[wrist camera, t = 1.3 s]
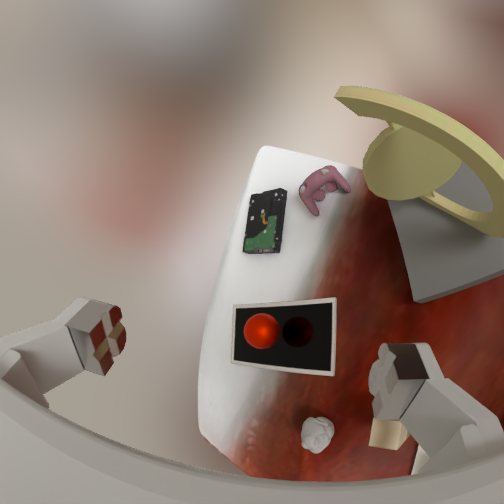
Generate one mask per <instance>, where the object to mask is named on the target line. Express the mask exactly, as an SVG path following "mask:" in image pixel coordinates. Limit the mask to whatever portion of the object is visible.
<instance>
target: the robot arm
mask: <svg viewBox="0 0 504 504" xmlns="http://www.w3.org/2000/svg"><path fill="white" fill-rule="evenodd" d="M121 318H122V313H121V309H120V308H119V307H118V306H116V305H112V304H108V303H104V302H101V301H97V300H92V299H89V298H86V297H79V298H78V299H77V300H76V301H74V302H73V303H72V304H71V305H70V306H69V307H68V308H67V309H66V310H65V311H64V312H63V313H61V314H60V315H59V316H58V317H57V318H56V319H55V320H54V321H47V322H44V323H41V324H38V325H35V326H32V327H29V328H26V329H24V330H21V331H18V332H15V333H13V334H9V335H6V336H4V337H1V338H0V504H504V432H503V429H502V427H501V424H500V422H499V420H498V417H497V416H496V415H494V414H493V413H492V412H491V411H489V410H488V409H487V408H486V407H484V406H483V405H482V404H481V403H479V402H478V401H477V400H476V399H474V398H473V397H472V396H470V395H469V394H468V393H467V392H465V391H464V390H463V389H461V388H460V387H459V386H458V385H456V384H455V383H454V382H452V381H451V380H450V379H449V378H446V379H445V378H444V376H443V374H442V372H441V369H440V367H439V365H438V363H437V361H436V358H435V356H434V354H433V352H432V350H431V348H430V346H429V345H428V344H427V343H383V344H382V345H381V346H380V349H379V351H378V355H379V359H378V360H377V361H376V362H374V363H373V365H372V368H371V370H370V374H369V390H370V393H371V394H372V395H373V396H375V398H374V400H373V402H372V407H373V412H374V418H375V420H394V419H400V420H399V421H400V422H401V423H402V424H403V426H404V427H405V428H406V429H407V430H408V432H409V433H410V434H411V435H412V437H413V438H414V439H415V440H416V441H417V443H418V444H419V445H420V446H421V448H422V449H423V450H424V451H425V453H426V454H427V455H428V456H429V457H430V460H429V461H428V462H427V463H426V464H425V465H424V466H423V467H421V469H420V470H419V471H418V474H414V475H408V476H402V477H394V478H386V479H376V480H364V481H346V482H306V481H287V480H275V479H265V478H257V477H249V476H242V475H235V474H229V473H224V472H219V471H214V470H209V469H204V468H200V467H196V466H191V465H187V464H183V463H179V462H176V461H172V460H169V459H165V458H162V457H159V456H156V455H152V454H149V453H146V452H143V451H140V450H138V449H135V448H132V447H129V446H127V445H124V444H121V443H119V442H116V441H114V440H111V439H109V438H106V437H104V436H102V435H99V434H97V433H95V432H93V431H91V430H88V429H86V428H84V427H82V426H80V425H78V424H76V423H74V422H72V421H70V420H68V419H66V418H64V417H62V416H60V415H58V414H57V413H55V412H53V411H51V410H49V403H48V402H47V400H46V399H45V397H44V395H43V394H45V393H46V392H48V391H50V390H51V389H53V388H55V387H57V386H58V385H60V384H62V383H63V382H65V381H67V380H69V379H71V378H72V377H74V376H76V375H77V374H79V373H81V372H82V371H84V370H87V371H90V372H93V373H96V374H99V375H102V376H105V375H106V373H107V372H108V371H109V369H110V368H111V366H112V365H113V363H114V362H113V357H115V356H117V355H119V354H120V353H121V351H122V350H123V349H124V346H125V343H126V331H125V327H124V326H123V325H122V324H121V322H120V320H121Z"/></svg>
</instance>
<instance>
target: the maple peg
mask: <svg viewBox="0 0 504 504" xmlns="http://www.w3.org/2000/svg"><path fill="white" fill-rule="evenodd" d="M399 420H400V419H394V420H375V418H373V423H372V430H371V436H370V441H369V446H374V447H380V448H386V449H393V450H397V449H398V448H399V447H400V446H401V445H402V444H403V443H404V442H405V440H406V439H407V438H408V437H409V436H410V435H411V434H410V433H409V432H408V430H407V429H406V428H405V427H404V426H403V424H402V423H401V422H400V421H399Z"/></svg>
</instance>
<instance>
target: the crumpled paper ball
mask: <svg viewBox="0 0 504 504" xmlns="http://www.w3.org/2000/svg"><path fill="white" fill-rule="evenodd" d="M333 435H334V425H333V423H332V422H331V421H330V420H329V419H327V418H325V417H317V418H313V417H309V418H307V419H306V420H305V422H304V423H303V426H302V432H301V438H302V446H303V448H305V449H309V450H310V451H311V452H313V453H319V452H321V451H322V450H323V449H324V448H326V447H327V446H328V444H329V443H330V441H331V438H332V437H333Z"/></svg>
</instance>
